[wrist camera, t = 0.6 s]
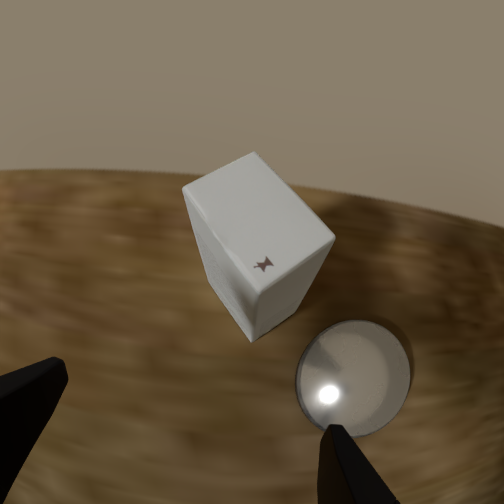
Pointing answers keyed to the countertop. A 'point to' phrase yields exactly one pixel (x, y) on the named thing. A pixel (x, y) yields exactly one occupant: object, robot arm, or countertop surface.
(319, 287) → the countertop surface
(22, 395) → the robot arm
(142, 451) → the countertop surface
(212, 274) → the skincare box
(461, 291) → the countertop surface
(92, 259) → the countertop surface
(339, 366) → the silver round plate
